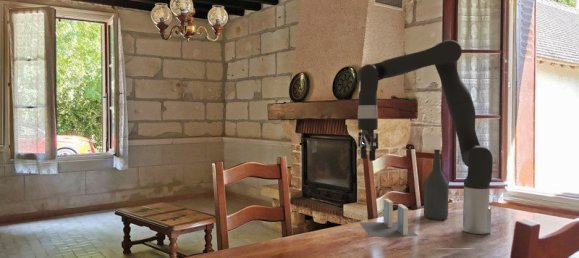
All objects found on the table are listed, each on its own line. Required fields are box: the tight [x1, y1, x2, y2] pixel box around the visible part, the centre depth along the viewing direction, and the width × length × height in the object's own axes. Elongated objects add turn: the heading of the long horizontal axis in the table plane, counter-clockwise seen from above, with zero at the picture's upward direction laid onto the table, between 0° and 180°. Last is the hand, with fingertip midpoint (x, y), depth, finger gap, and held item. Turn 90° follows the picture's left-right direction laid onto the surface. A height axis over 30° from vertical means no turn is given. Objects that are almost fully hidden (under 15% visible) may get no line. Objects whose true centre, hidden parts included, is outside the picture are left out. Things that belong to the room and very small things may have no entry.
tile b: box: [397, 203, 409, 235], centre depth 176 cm, size 2×8×10 cm, turn 2°
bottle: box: [423, 149, 450, 221], centre depth 203 cm, size 10×10×30 cm
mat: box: [358, 221, 419, 238], centre depth 181 cm, size 18×22×1 cm
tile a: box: [383, 198, 394, 227], centre depth 188 cm, size 2×8×10 cm, turn 2°
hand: (367, 159), depth 178 cm, fingers open, 8 cm apart
